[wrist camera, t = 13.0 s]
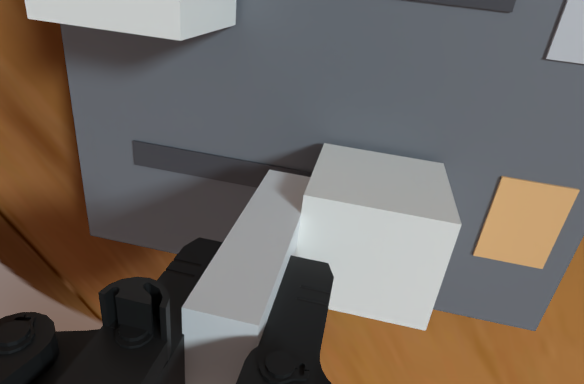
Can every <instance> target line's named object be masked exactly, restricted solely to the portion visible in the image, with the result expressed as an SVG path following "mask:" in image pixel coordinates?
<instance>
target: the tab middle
mask: <svg viewBox="0 0 584 384" xmlns="http://www.w3.org/2000/svg"><path fill="white" fill-rule="evenodd" d="M25 6H26V11H27V17H28V19H33V20H40V21H47V22H54V23H61V24H68V25H75V26H82V27H89V28H95V29H102V30H109V31H116V32H123V33H130V34H137V35H144V36H151V37H158V38H165V39H172V40H179V41H182V40H185V39H189V38H192V37H196V36H199V35H203V34H206V33H209V32H213V31H216V30H220V29H223V28H227V27H230V26H234V25H235V24H236V0H25Z"/></svg>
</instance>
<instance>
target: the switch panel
mask: <svg viewBox="0 0 584 384" xmlns="http://www.w3.org/2000/svg"><path fill="white" fill-rule="evenodd" d="M60 26H61V33H62V40H63V47H64V54H65V61H66V68H67V75H68V82H69V89H70V96H71V103H72V110H73V117H74V124H75V131H76V138H77V145H78V152H79V159H80V166H81V173H82V180H83V187H84V194H85V201H86V208H87V215H88V222H89V229H90V235H91V236H96V237H101V238H105V239H110V240H115V241H119V242H124V243H129V244H133V245H138V246H142V247H147V248H152V249H156V250H161V251H166V252H170V253H175V254H178V253H179V252H180V250H181V249H182V248H183V247H184V246H185V245H187V244H188V243H190V242H192V241H194V240H195V239H197V238H199V237H200V238H205V239H210V240H215V241H219V242H224V240H225V238H226V237H227V235H228V234H229V232H230V231H231V229H232V227H233V226H234V224H235V223H236V221H237V220H238V218H239V216H240V215H241V213H242V212H243V210H244V209H245V207H246V206H247V204H248V202H249V201H250V199H251V198H252V196H253V195H254V193H255V191H256V190H257V188H258V187H259V185H260V184H261V182H262V180H263V179H264V177H265V176H266V174H267V173H268V171H269V170H274V171H280V172H285V173H291V174H296V175H302V176H307V177H311V175H312V172H313V170H314V167H315V165H316V162H317V160H318V157H319V155H320V152H321V150H322V147H323V145H324V143H327V144H333V145H338V146H344V147H350V148H356V149H362V150H368V151H374V152H380V153H385V154H391V155H397V156H403V157H409V158H415V159H421V160H427V161H432V162H438V163H444V167H445V170H446V173H447V177H448V180H449V184H450V187H451V190H452V194H453V197H454V200H455V204H456V207H457V211H458V214H459V217H460V221H461V224H462V225H461V228H460V231H459V234H458V237H457V240H456V243H455V246H454V249H453V252H452V254H451V257H450V260H449V263H448V266H447V269H446V272H445V275H444V278H443V281H442V284H441V287H440V290H439V293H438V296H437V298H436V301H435V304H434V307H433V309H435V310H439V311H444V312H449V313H453V314H458V315H462V316H467V317H472V318H476V319H481V320H486V321H490V322H495V323H500V324H504V325H509V326H514V327H518V328H523V329H527V330H532V331H536V329H537V327H538V325H539V323H540V321H541V319H542V317H543V315H544V313H545V311H546V309H547V307H548V305H549V303H550V301H551V299H552V297H553V295H554V293H555V291H556V289H557V287H558V285H559V283H560V281H561V279H562V277H563V275H564V273H565V271H566V269H567V267H568V265H569V263H570V262H571V260H572V258H573V256H574V254H575V252H576V250H577V248H578V246H579V244H580V242H581V240H582V238H583V236H584V0H236V24H235V25H234V26H230V27H227V28H223V29H220V30H216V31H213V32H209V33H206V34H203V35H199V36H196V37H192V38H189V39H185V40H182V41H179V40H172V39H165V38H158V37H151V36H144V35H137V34H130V33H123V32H116V31H109V30H102V29H95V28H89V27H82V26H75V25H68V24H61V23H60Z"/></svg>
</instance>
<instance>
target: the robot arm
mask: <svg viewBox="0 0 584 384" xmlns="http://www.w3.org/2000/svg"><path fill="white" fill-rule="evenodd" d="M309 180H310V177H307V176H302V175H296V174H291V173H285V172H280V171H274V170H269V171H268V173H267V174H266V176H265V177H264V179H263V180H262V182H261V184H260V185H259V187H258V188H257V190H256V191H255V193H254V195H253V196H252V198H251V199H250V201H249V202H248V204H247V206H246V207H245V209H244V210H243V212H242V213H241V215H240V216H239V218H238V220H237V221H236V223H235V224H234V226H233V227H232V229H231V231H230V232H229V234H228V235H227V237H226V238H225V240H224V242H219V241H215V240H210V239H205V238H200V237H199V238H197V239H195V240H194V241H192V242H190V243H188V244H187V245H185V246H184V247H183V248H182V249H181V250H180V252H179V253H178V254H177V256H176V257H175V258H174V261H172V262H171V263H170V265H169V266H168V267H167V268H166V271H164V272H163V274H162V275H161V276H160V277H159V279H158V280H157V281H156V280H153V279H151V278H143V277H133V278H126V279H121V280H119V281H116V282H114V283H111V284H109V285H108V286H106V287H105V288H104V289H102V290H101V291H100V292H99V300H100V307H101V315H102V322H103V326H102V327H101V329H98V330H89V331H61V332H56V331H55V326H54V322H53V321H52V320H51V319H50V318H49V317H48V316H47V315H43V314H40V313H36V312H22V313H17V314H13V315H10V316H5V317H3V318H1V319H0V384H331V382H330V381H329V380H328V379H327V378H326V376H325V374H324V372H323V371H322V368H321V364H320V349H321V344H322V338H323V333H324V328H325V322H326V317H327V312H328V306H329V301H330V296H331V290H332V285H333V280H334V276H333V274H332V271H331V269H330V266H329V264H328V263H325V262H321V261H316V260H311V259H306V258H302V257H297V256H296V249H297V242H298V234H299V227H300V219H301V210H302V203H303V195H304V192H305V190H306V187H307V185H308V182H309Z"/></svg>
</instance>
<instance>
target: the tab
mask: <svg viewBox="0 0 584 384" xmlns="http://www.w3.org/2000/svg"><path fill="white" fill-rule="evenodd" d="M461 225H462V224H461V221H460V217H459V214H458V211H457V207H456V204H455V200H454V197H453V194H452V190H451V187H450V184H449V180H448V177H447V173H446V170H445V167H444V163H438V162H432V161H427V160H421V159H415V158H409V157H403V156H397V155H391V154H385V153H380V152H374V151H368V150H362V149H356V148H350V147H344V146H338V145H333V144H327V143H324V145H323V147H322V150H321V152H320V155H319V157H318V160H317V162H316V165H315V167H314V170H313V172H312V175H311V177H310V180H309V182H308V185H307V187H306V190H305V192H304V195H303V203H302V210H301V219H300V227H299V234H298V242H297V249H296V256H297V257H302V258H306V259H311V260H316V261H321V262H325V263H328V264H329V266H330V269H331V271H332V274H333V276H334V280H333V285H332V290H331V296H330V301H329V306H328V309H330V310H335V311H339V312H344V313H348V314H353V315H357V316H362V317H366V318H371V319H375V320H380V321H384V322H389V323H393V324H398V325H402V326H407V327H411V328H416V329H420V330H425V331H426V328H427V325H428V322H429V319H430V316H431V313H432V310H433V307H434V304H435V301H436V298H437V296H438V293H439V290H440V287H441V284H442V281H443V278H444V275H445V272H446V269H447V266H448V263H449V260H450V257H451V254H452V252H453V249H454V246H455V243H456V240H457V237H458V234H459V231H460V228H461Z"/></svg>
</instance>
